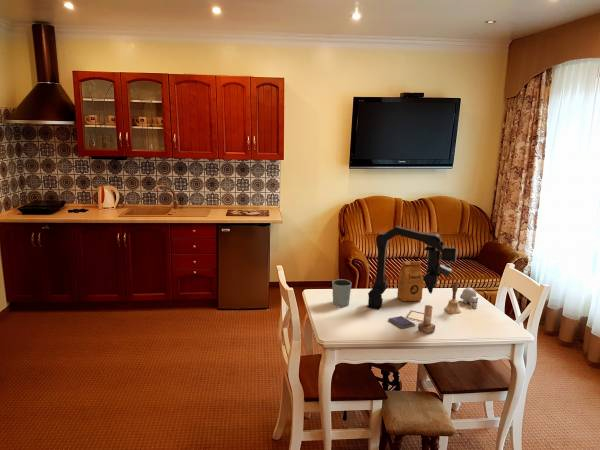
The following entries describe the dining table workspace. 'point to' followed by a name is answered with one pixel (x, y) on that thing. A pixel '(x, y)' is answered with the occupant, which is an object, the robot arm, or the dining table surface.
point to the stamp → (427, 321)
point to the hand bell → (453, 301)
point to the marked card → (415, 316)
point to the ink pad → (401, 322)
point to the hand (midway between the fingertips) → (432, 290)
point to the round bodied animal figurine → (469, 296)
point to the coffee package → (410, 281)
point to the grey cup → (341, 292)
